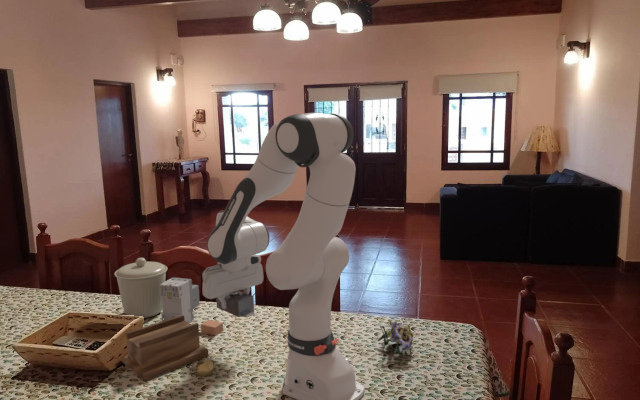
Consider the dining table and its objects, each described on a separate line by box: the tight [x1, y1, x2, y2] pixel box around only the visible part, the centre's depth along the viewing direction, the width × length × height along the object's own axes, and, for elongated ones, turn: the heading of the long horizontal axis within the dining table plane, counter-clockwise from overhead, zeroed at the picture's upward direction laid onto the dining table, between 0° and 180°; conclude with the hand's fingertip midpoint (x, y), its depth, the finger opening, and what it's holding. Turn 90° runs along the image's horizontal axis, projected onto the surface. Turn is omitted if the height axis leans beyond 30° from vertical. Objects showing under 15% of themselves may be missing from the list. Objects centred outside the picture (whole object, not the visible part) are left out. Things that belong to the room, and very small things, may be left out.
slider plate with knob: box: [215, 290, 255, 318], centre depth 147 cm, size 16×6×6 cm, turn 45°
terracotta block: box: [200, 319, 224, 336], centre depth 161 cm, size 6×4×3 cm, turn 63°
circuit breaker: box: [160, 277, 200, 324], centre depth 170 cm, size 8×14×15 cm, turn 164°
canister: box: [114, 257, 168, 319], centre depth 175 cm, size 18×18×21 cm
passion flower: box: [377, 319, 414, 357], centre depth 146 cm, size 11×11×12 cm
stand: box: [122, 315, 209, 382], centre depth 142 cm, size 16×20×10 cm
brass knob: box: [196, 359, 214, 378], centre depth 134 cm, size 4×4×3 cm
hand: (235, 304), depth 147 cm, fingers closed on slider plate with knob, 5 cm apart
